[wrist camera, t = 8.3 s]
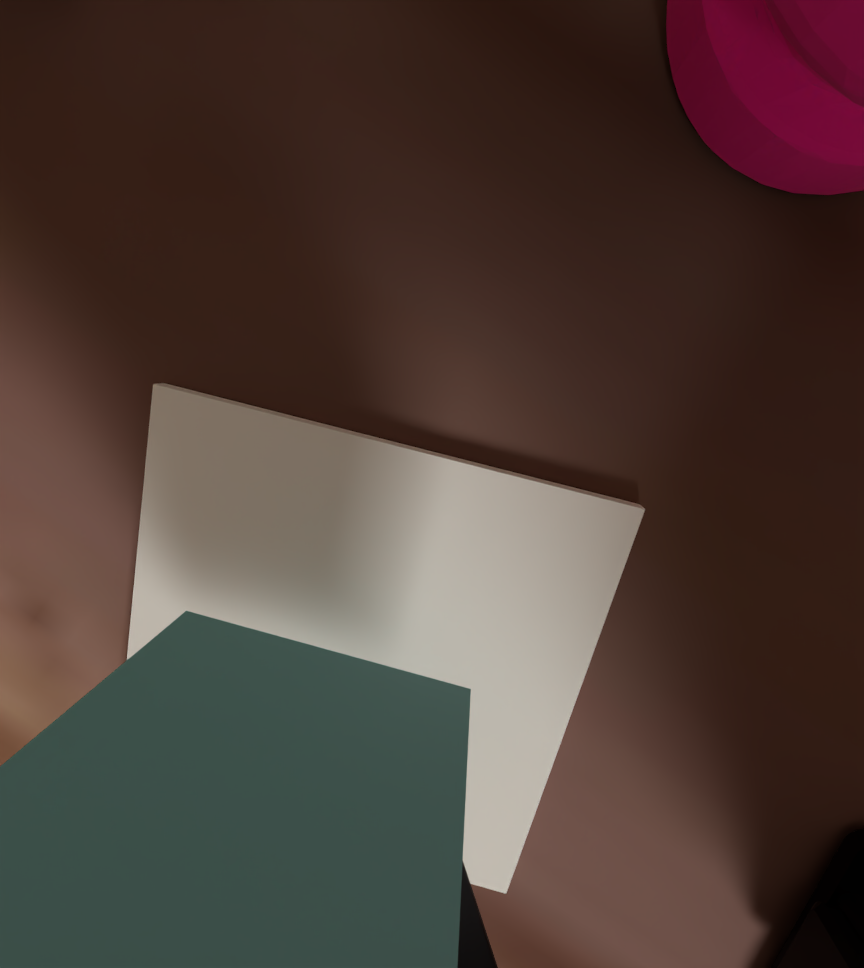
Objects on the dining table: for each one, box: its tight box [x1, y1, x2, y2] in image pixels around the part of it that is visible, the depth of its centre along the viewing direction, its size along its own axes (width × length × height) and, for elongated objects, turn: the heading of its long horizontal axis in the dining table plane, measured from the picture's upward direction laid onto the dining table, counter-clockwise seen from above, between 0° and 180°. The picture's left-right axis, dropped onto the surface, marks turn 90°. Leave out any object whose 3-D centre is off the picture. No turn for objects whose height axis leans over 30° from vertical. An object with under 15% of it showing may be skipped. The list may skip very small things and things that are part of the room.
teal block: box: [0, 611, 471, 968], centre depth 7 cm, size 5×5×5 cm
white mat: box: [127, 383, 645, 894], centre depth 13 cm, size 11×11×1 cm
